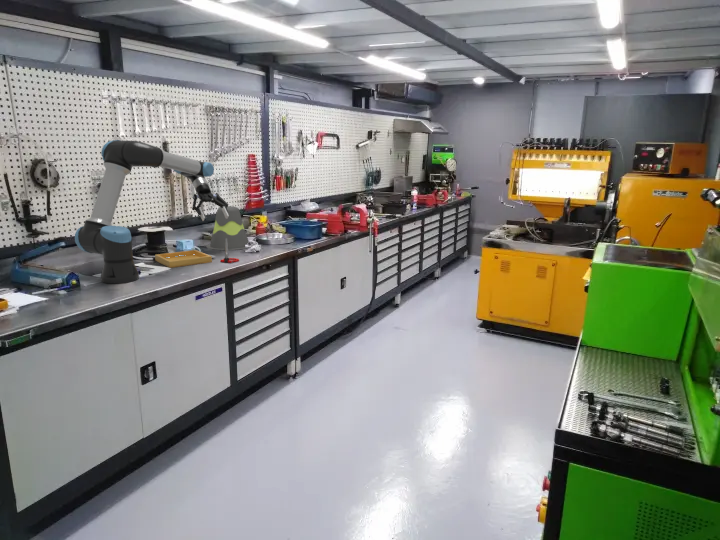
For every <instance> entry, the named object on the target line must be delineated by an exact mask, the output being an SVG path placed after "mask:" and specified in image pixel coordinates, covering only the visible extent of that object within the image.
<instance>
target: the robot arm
mask: <svg viewBox="0 0 720 540" xmlns="http://www.w3.org/2000/svg"><path fill="white" fill-rule="evenodd" d="M100 152H101V155H100V156H101V157H102V161H103V166H104V168H105V170H104V173H103V175H102V180H101V183H100V186H99V188H98V192H97V196H96V200H95V202H94V205H93V208H92V212H91V215H90V217H89V218H87V219H85V221H84V224H83V226H81V227H79V228H78V229H76V230H75V234H74V242H75V244H76V246H77V247H78V249H80V250H81V251H83V252H84V253H89V254H97V255H102V257H103V267H102V271H101V275H100V280H101V282H102V283H104V284H126V283H130V282H135V281H137V280H139V278H140V274H139V270H138V269H137V267H136V264H135V262H134V254H133V243H132V242H133V240H132V234H131V231H130V229H129V228H127V227H125V226H120V225H113V224H112V221H113V218H114V215H115V211H116V209H117V205H118V203H119V199H120V195H121V193H122V189H123V186H124V183H125V179H126V177H127V175H130V174H131V173H132V168H133V167H134V168H135V167H136V168H137V167H138V168H139V167H142V168H143V167H147V168H149V167H150V168H155V169H157V168H164V169H169V170H172V171H174V172H175V173H176V174H178V175H181V176H182V177H185V178H188V179H189V180H190V181H191V184H192V185H193V188H194V190H195V192H196V193H194V194H193V196H192V199H193V202H192V207H191V210H192V211H195V212H196V213H197V215H198V216H200V219H201V220H202V222H204V221H205V219H206V216H205V214H204V212H203V210H202V208H201V206H202V204H203V203H212V204H215V205H216V206H218V208H220V207H221V208H222V211H223V213H224V215H225V218H226V219H227V218H228V216H229V215H228V213H227V212H228V210H227V207H228V206H229V203H228V202H227V201H226V200H224V198H222V197H221V196H220V195H219V194H218V192H216V193H212V190H211V187H210V185H209V183H208V182H207V179H206V177H209V178H210V177H211V176H213V175H214V172H215V168H214V165H213V163H212V162H209V161H200V160H197V159H193V158H190V157H186V156H182V155H179V154H175V153H171V152H168V151H164V150H162V148H160V147H159V146H155V145H151V144H150V143H149V144H148V143H146V142H143V141H139V140H121V139H114V140H110V141H107V142H105V144H104V145H103V146H102V148H101V151H100ZM198 199H199V203H198V204H197V200H198Z"/></svg>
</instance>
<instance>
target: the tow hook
mask: <svg viewBox="0 0 720 540" xmlns="http://www.w3.org/2000/svg"><path fill="white" fill-rule="evenodd" d="M224 251H225V253H224V254H225V255H224V258H222V259H220V263H225V264H233V263H238V262H240V259H239V258H238V257H237V258H236V257H235V258H234V257H229V250H228V242H227V238H226V242H225V250H224Z"/></svg>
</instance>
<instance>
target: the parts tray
mask: <svg viewBox="0 0 720 540" xmlns="http://www.w3.org/2000/svg"><path fill="white" fill-rule="evenodd" d="M193 254H195V255H193ZM179 255H184V256H179ZM185 255H186V256H185ZM175 256H178V257H175ZM166 257H170V258H166ZM154 258H155V259H154V261H155V262H157V263H159V264H161V265H163V266H165V267H168V269H172V268H180V267H187V266H195V265H202V264H209V263H210V264H211V263H213V257H212V256H211V255H209V254H207V253H204V252H202V251H199V250H197V249H193V250H192V249H191V250H184V251H176V252H166V253H160V254H159V253H158V254H157V253H156V254H155V255H154Z"/></svg>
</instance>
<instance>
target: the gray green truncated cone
mask: <svg viewBox="0 0 720 540" xmlns="http://www.w3.org/2000/svg"><path fill="white" fill-rule="evenodd" d="M227 210H228V212H227V213H228V215H229V216H228V218H227V219H226V218H225V215H224V213H223V211H222V208H221V207H218V208H217V211H216V214H215V219H214V227H213V230H212V234H211V240H210V243H209V244H207V245H206V246H205V247H206V248H207V249H209V250H214V251H225V242H226V238H227V242H228V251H236V250H237V251H238V250H245V244H247V243H248V242H249V239H248V235H247V233H246V230H245V227H244V224H243V219H242V215H241V212H240V209H239V208H238V206H237V207H236V206H232V205H231V206H229V205H228V207H227ZM249 243H250V242H249Z"/></svg>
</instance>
